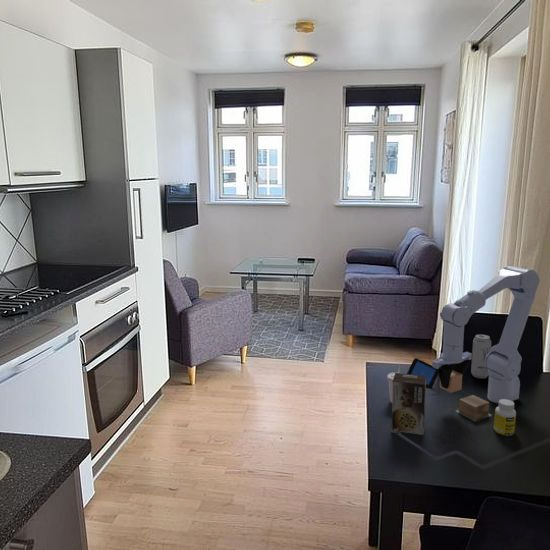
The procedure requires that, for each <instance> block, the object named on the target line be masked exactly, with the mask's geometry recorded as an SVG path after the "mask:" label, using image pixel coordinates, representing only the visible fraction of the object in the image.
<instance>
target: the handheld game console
mask: <svg viewBox="0 0 550 550" xmlns="http://www.w3.org/2000/svg"><path fill="white" fill-rule="evenodd" d="M406 374H413V375H423V376H426V390H427V389H430V390H431V389H433V387H434V384H435V383H436V381H437V379H438V377H439V374H438V372H437V370H436V368H434V367H432V364H429V363H428V362H426V361H423V360H422V359H418V358H416V357H415V358H414V359H413V360H412V362H411V364H410V367H409V369H408V371H407V373H406Z"/></svg>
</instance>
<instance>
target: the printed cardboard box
mask: <svg viewBox="0 0 550 550" xmlns="http://www.w3.org/2000/svg"><path fill="white" fill-rule="evenodd" d="M394 373H395V375H394V378H393V400H392V403H391V405H392V406H391V407H392V408H391V411H392V413H391V433H392V434H399V435H402V433H406V434H413V435H414V434H415V435H421V436H424V435H425V427H426V425H425V423H426V401H427V399H426V396H427V395H426V394H427V389H426V376H423V375H413V374H407V373H403V374H402V372H400V373H398V372H394Z"/></svg>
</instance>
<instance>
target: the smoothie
mask: <svg viewBox="0 0 550 550" xmlns="http://www.w3.org/2000/svg"><path fill="white" fill-rule="evenodd" d="M397 371H398V372H397V373H402V372H401V362H399V363H398V370H397ZM395 373H396V372H390V373H388V374H387V376H386V380H387V381H388V391H389V392H388V393H389V400H390V401H389V402H390V403H391V404H392V400H393V378H394V375H395ZM402 374H404V373H402Z"/></svg>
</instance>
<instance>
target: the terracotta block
mask: <svg viewBox="0 0 550 550" xmlns="http://www.w3.org/2000/svg"><path fill="white" fill-rule="evenodd" d="M462 385H463V378H462V374H461V373H458V372H456V371H454V370H453V371H452V373H451V376H450V381H449V387H448V388H447V389H446V388H444V387H442V386H441V381H440V380H439V388H440V389H442V390H444V391H446V392H448V393H450V394H451V393H454V392H455V393H456V392H458V391H461V390H463V389H462V388H463V386H462Z"/></svg>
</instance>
